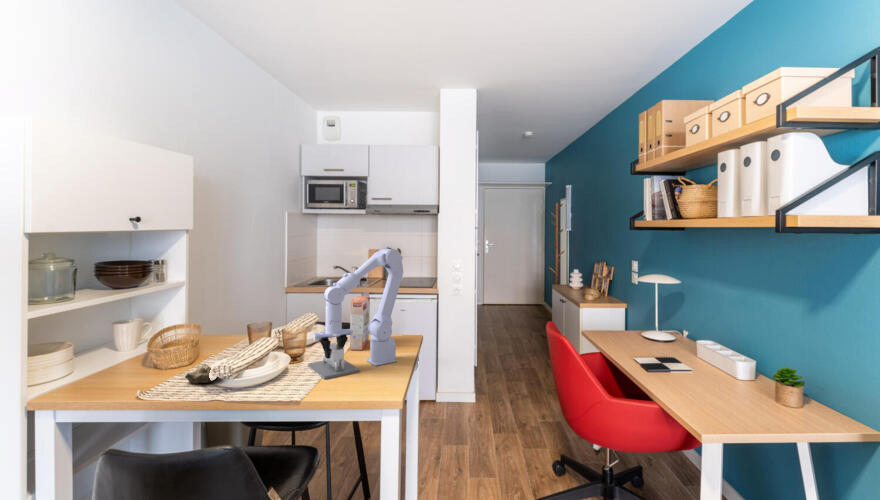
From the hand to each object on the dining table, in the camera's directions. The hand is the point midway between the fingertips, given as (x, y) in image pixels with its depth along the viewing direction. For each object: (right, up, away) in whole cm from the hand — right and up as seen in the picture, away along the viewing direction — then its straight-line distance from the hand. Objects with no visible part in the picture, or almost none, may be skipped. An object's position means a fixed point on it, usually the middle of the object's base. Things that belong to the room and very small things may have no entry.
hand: (333, 356), depth 149 cm
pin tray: (0, -5, 0) cm, 5 cm away
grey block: (0, -2, 0) cm, 2 cm away
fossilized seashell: (-39, -5, -14) cm, 42 cm away
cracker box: (+4, -3, +30) cm, 30 cm away
